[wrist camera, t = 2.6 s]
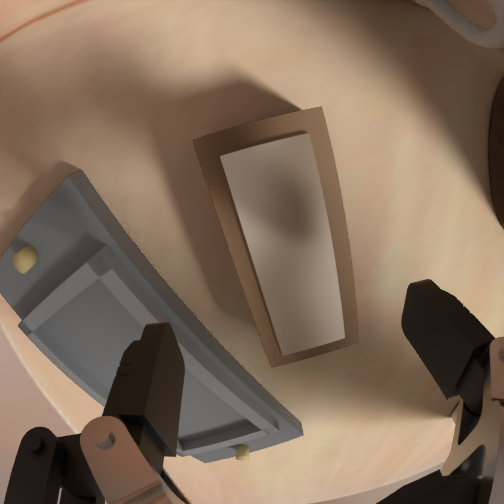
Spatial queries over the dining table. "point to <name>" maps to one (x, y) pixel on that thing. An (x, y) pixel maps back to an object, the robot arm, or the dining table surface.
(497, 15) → the teacup
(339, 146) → the dining table surface
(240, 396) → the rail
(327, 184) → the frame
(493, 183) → the wooden container
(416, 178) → the dining table surface
